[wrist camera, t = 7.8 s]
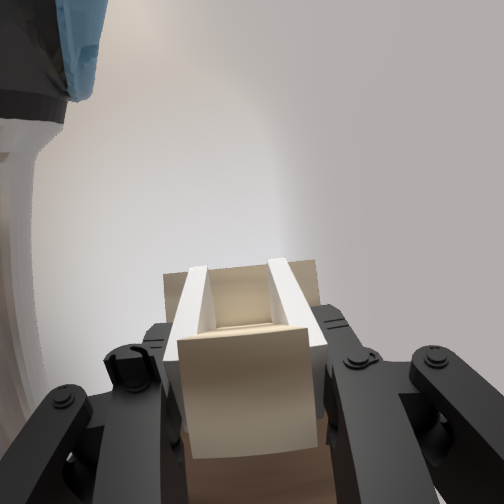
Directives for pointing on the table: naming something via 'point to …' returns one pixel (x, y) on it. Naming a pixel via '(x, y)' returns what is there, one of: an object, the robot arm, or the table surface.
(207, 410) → the mallet
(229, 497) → the plinth
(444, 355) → the robot arm
